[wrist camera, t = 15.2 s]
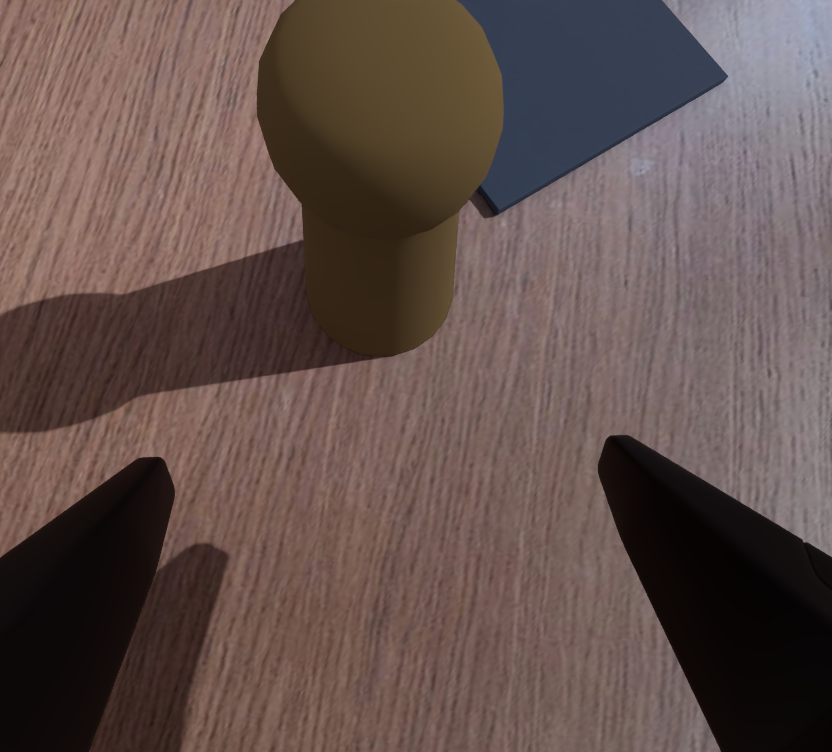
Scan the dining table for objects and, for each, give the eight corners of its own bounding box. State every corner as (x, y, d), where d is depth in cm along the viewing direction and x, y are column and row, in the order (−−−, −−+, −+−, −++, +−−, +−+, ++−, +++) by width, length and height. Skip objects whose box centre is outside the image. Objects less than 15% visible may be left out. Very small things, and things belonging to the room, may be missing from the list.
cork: (461, 232, 20) (559, -54, 9) (442, 367, 19) (532, 219, 8) (321, 207, 20) (252, -117, 9) (292, 343, 18) (170, 155, 8)
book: (722, 82, 23) (728, 76, 22) (496, 215, 20) (499, 210, 20) (531, -137, 25) (534, -147, 24) (304, -42, 22) (303, -51, 22)
